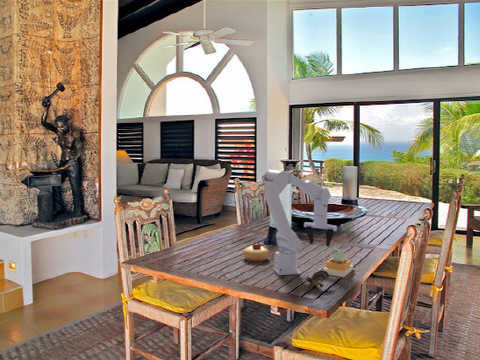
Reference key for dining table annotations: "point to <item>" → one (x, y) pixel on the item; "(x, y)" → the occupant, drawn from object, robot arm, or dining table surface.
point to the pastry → (255, 253)
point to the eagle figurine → (316, 279)
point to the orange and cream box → (338, 268)
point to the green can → (338, 256)
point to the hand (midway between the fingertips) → (319, 244)
